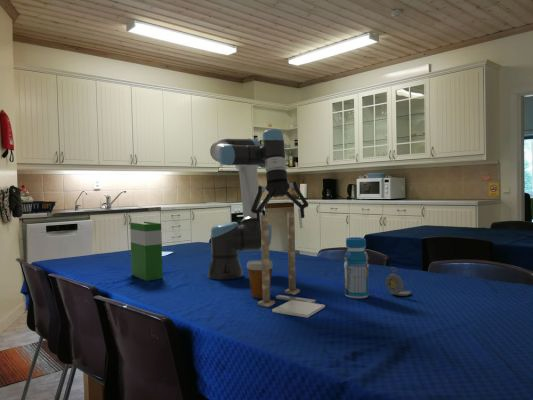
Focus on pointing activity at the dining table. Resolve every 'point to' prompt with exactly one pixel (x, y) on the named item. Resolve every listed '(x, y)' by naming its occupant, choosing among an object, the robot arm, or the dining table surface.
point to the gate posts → (265, 259)
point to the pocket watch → (396, 284)
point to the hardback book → (146, 250)
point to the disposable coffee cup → (257, 277)
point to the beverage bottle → (356, 268)
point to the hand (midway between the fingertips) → (281, 229)
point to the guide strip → (295, 299)
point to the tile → (298, 308)
